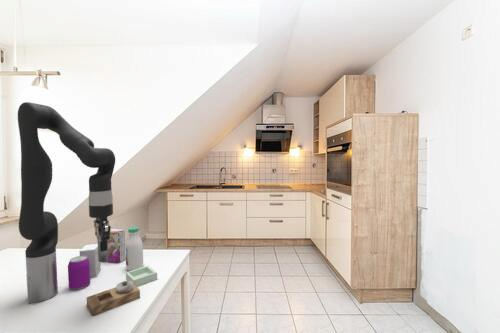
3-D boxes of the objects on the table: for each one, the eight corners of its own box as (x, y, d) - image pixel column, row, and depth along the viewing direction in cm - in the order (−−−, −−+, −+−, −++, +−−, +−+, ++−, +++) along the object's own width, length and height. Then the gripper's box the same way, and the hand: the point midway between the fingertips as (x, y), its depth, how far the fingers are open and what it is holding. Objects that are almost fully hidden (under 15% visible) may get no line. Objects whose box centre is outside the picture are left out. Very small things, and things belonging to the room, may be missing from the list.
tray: (133, 287, 106) (133, 280, 106) (125, 279, 113) (125, 272, 113) (157, 279, 113) (157, 272, 113) (148, 271, 120) (148, 265, 120)
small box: (86, 271, 121) (85, 244, 121) (101, 269, 123) (100, 243, 123) (80, 279, 114) (79, 250, 113) (96, 277, 116) (95, 249, 115)
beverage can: (68, 285, 108) (66, 258, 108) (89, 279, 113) (87, 253, 113) (69, 292, 103) (68, 263, 102) (91, 286, 107) (90, 258, 107)
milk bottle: (146, 264, 128) (145, 225, 127) (138, 271, 120) (136, 230, 119) (131, 264, 129) (130, 225, 128) (122, 271, 121) (121, 230, 120)
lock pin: (98, 263, 91) (97, 230, 90) (96, 260, 93) (94, 228, 93) (110, 260, 93) (109, 228, 93) (107, 257, 96) (106, 226, 95)
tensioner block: (92, 316, 87) (91, 299, 87) (86, 305, 94) (86, 289, 94) (140, 297, 98) (139, 283, 98) (131, 288, 105) (131, 275, 105)
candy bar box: (100, 262, 132) (99, 231, 131) (107, 258, 137) (105, 228, 136) (120, 263, 130) (118, 232, 129) (126, 259, 135) (125, 229, 134)
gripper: (84, 201, 95) (86, 247, 96) (93, 207, 85) (95, 258, 85) (107, 199, 100) (108, 242, 101) (118, 204, 90) (119, 252, 91)
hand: (102, 249), depth 93 cm, fingers closed on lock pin, 3 cm apart
